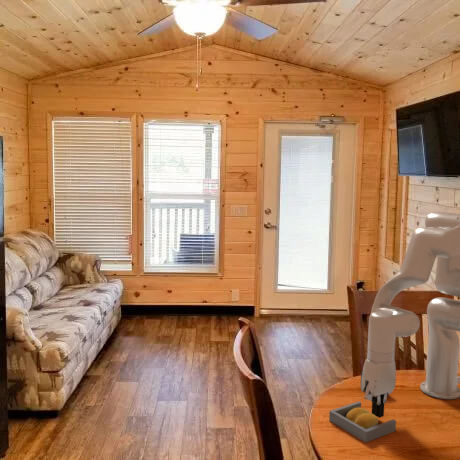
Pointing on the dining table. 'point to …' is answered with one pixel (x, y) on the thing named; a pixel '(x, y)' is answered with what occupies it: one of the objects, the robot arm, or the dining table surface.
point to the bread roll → (362, 418)
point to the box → (365, 435)
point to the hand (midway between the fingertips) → (377, 415)
